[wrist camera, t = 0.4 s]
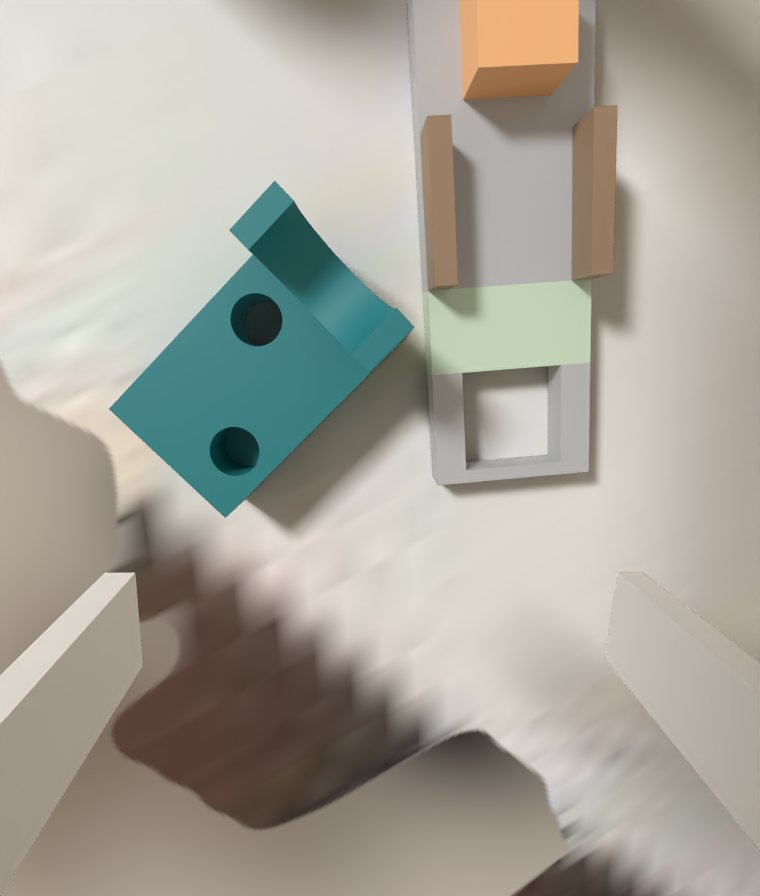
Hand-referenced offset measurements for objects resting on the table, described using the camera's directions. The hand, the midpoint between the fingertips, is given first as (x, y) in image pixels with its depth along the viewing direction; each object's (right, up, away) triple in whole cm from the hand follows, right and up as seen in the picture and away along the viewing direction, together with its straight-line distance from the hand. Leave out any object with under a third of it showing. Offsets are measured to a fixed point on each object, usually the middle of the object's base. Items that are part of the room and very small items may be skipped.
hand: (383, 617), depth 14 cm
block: (+8, +31, +19) cm, 37 cm away
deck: (+9, +20, +24) cm, 32 cm away
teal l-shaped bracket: (-8, +10, +25) cm, 29 cm away
